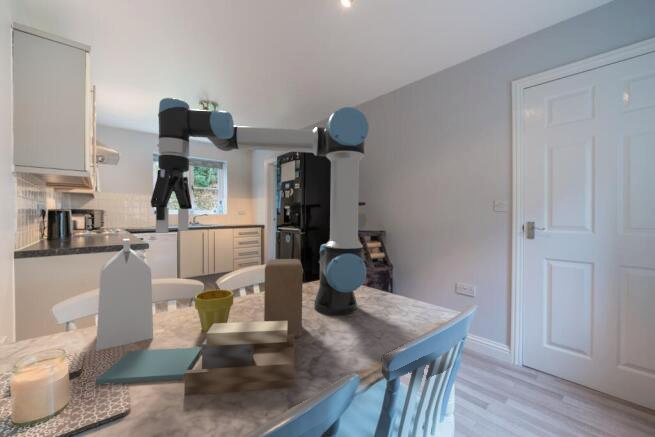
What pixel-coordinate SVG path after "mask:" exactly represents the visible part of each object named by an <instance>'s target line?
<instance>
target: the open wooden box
mask: <svg viewBox="0 0 655 437" xmlns="http://www.w3.org/2000/svg"><path fill="white" fill-rule="evenodd" d="M201 347H202V352H201V359H200V361H199V363H198V364H197V366H196V368H195V369H190V370H186V372H185V375H184V379H183V380H184V383H183V386H184V390H183V391H184V392H183V393H184V394H183V395H184V396H188V395H189V396H190V395H202V394H203V395H204V394H205V395H206V394H217V393H218V394H219V393H231V392H232V393H233V392H234V393H235V392H243V391H258V390H259V391H260V390H274V389H275V390H277V389H287V388H295V387H296V386H295V385H296V383H295V382H296V379H295V378H296V364H295V338H294V334H290V335H287V342H276V343H256V344H235V345H215V346H206V339H204V341H203V342H202V344H201Z"/></svg>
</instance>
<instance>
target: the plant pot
mask: <svg viewBox="0 0 655 437" xmlns="http://www.w3.org/2000/svg"><path fill="white" fill-rule="evenodd" d="M233 305H234V292H233V291H232V290H229V289H221V288H220V289H218V288H217V289H210V290H206V291H205V290H204V291H201V292H199V293H197V294H196V295H195V296H194V309H195V310H196V311H197V314H198V317H199V322H200V328H201V330H202V331H203V332H206V333H207V332H208V331H209V329H210V328H211V326H212V325H213V324H214V323H228V321H229V316H230V311H231V307H232V306H233Z"/></svg>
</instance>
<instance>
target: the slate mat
mask: <svg viewBox="0 0 655 437" xmlns="http://www.w3.org/2000/svg"><path fill="white" fill-rule="evenodd" d="M200 355H202V346H201V347H198V346H197V347H182V348H181V347H179V348H178V347H176V348H158V349H137V350H136V349H135V350H128V352H127V353H125V354H124V355H123V356H122V357H121V358H119V359H118V360H116V362H115V363H113V364H112V365H111V366H110V367H109V368H107V369H106V370H105V371H103V373H102V374H100V375H99V376H97V377H96V378H95V385H94V386H96V384H100V385H106V384H105V383H115V384H127V383H128V384H129V383H143V382H144V383H146V382H157V381H158V382H160V381H172V380H174V381H176V380H184V375H185V372H186V370H192V368H193V366H194V364H195V362H197V360H198V358H199V357H200Z"/></svg>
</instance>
